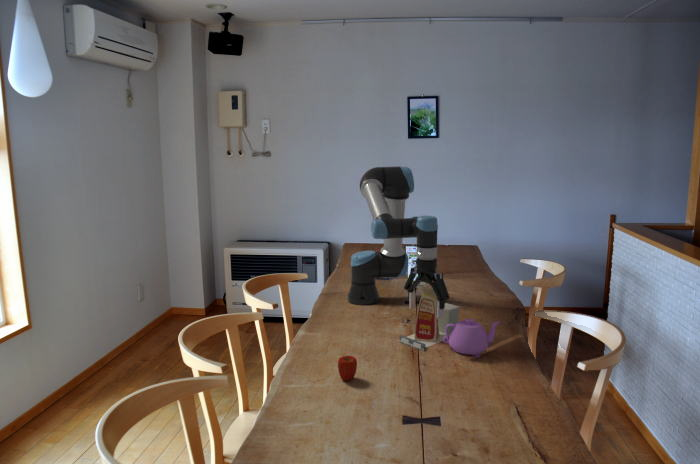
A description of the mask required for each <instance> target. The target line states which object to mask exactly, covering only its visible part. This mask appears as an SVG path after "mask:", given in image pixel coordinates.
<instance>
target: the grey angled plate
mask: <svg viewBox="0 0 700 464" xmlns="http://www.w3.org/2000/svg"><path fill="white" fill-rule="evenodd" d="M445 336H446V334H443V333H440V332H439V338H438V340H437V341H436V342H427V341H416V340H414V337H415V333H413V334H411V335H408V336H405V335H399V339H398V340H399V343H400V344H403V345H405V346H408V347H410V348H413V349H416V350H419V351H421V352H426V351H427V349H426V348H428V347H431V346H433V345H435V344H438V343H441V342H443V338H444V337H445ZM449 336H450V335H449ZM446 337H447V336H446ZM445 340H446V341H447V338H445Z"/></svg>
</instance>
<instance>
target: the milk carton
mask: <svg viewBox="0 0 700 464" xmlns="http://www.w3.org/2000/svg"><path fill="white" fill-rule="evenodd" d="M437 300H438V297H437V295H436V294H435V292H434V290H433V288H428V287H425V286H422V285H421V297H420V300H419V303H418V308H417V312H416V318H415V322H414V324H415V325H414V334H415V337H414V340H416V341H427V342H436V341H437V340H438V338H439V327H438V318H437Z"/></svg>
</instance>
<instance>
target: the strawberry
mask: <svg viewBox="0 0 700 464" xmlns="http://www.w3.org/2000/svg"><path fill="white" fill-rule="evenodd" d="M357 368H358V362H357V359H356V357H355V356H352V355H345V356H344V355H343V356H341V357H339V358H338V360H337V369H338V374H339V377H340V379H341V380H342V381H343V382H344V381H345V382H346V381H350V380H351V381H352V380H353V379H354V377H355V375H356V373H357Z"/></svg>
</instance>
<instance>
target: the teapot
mask: <svg viewBox="0 0 700 464" xmlns="http://www.w3.org/2000/svg"><path fill="white" fill-rule="evenodd" d="M464 319H465V320H460V321H459V320H458V323H457V324H456V325H455V324H448V325H447V326H446V327H445V332H446V336H447V337H446V336H445V337H444V338H443V341H442V342H443V343H444V344H448V345H449V346H450V348H451V349H452V350H453V351H454V352H456V353H459V354H461V355H470V356H471V355H473V357H474V358H476V359H478V358H481V354H482V353H484V352H485V351H486V350H487V349H488V348H489V345H490V344H491V343H492V342H493V341H494V339H495V337H496V328H497V326H498V325H499V324H500V323H501V321H500V320H499V321H495V322H493V323H491V327H490V331H489V333H488V334H487V331H486V330H485V329H484V327H483V326H482V324H481V323H480V322H478V321H476V320H474V319H473V318H469V317H468V318H464ZM450 326H453V327H454V328H453V329H452V331H451V333H450V336H449V334H448V327H450ZM445 338H447V339H446V340H445Z"/></svg>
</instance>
